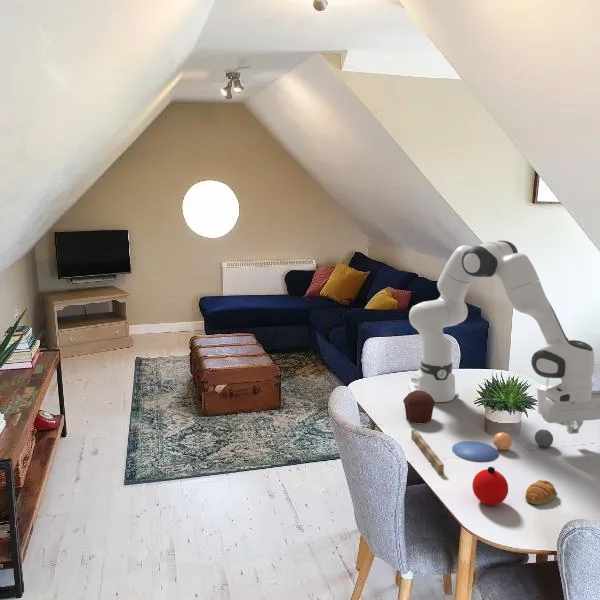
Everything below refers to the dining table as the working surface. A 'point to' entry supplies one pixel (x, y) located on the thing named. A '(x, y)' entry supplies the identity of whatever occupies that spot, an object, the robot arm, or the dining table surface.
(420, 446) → the wall
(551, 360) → the robot arm
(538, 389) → the smoothie
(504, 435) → the object ball
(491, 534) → the dining table surface
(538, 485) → the pastry
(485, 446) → the blue flat disc
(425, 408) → the muffin
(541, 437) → the grey matte sphere
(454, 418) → the dining table surface
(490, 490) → the ornament
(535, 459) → the dining table surface
